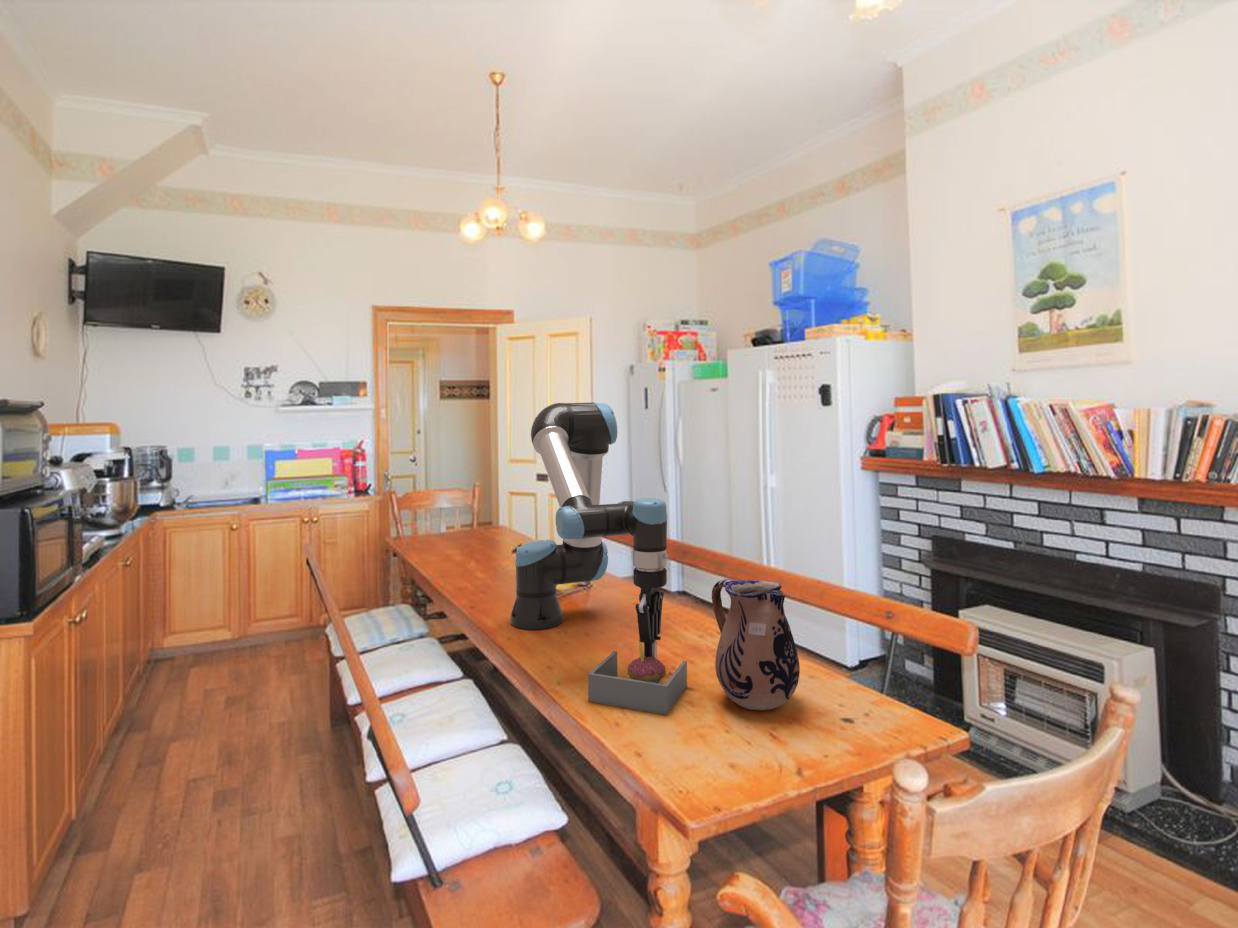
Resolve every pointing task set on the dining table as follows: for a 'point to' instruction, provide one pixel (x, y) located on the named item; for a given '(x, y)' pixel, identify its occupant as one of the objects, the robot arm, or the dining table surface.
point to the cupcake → (646, 668)
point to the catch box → (634, 688)
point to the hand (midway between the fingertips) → (650, 668)
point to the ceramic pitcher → (755, 645)
